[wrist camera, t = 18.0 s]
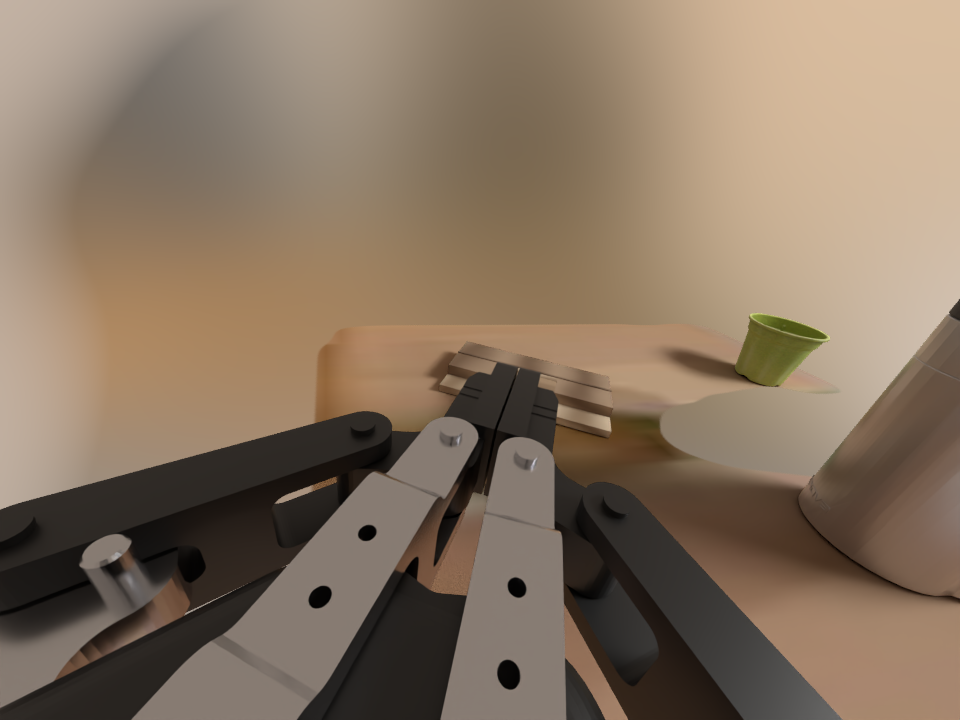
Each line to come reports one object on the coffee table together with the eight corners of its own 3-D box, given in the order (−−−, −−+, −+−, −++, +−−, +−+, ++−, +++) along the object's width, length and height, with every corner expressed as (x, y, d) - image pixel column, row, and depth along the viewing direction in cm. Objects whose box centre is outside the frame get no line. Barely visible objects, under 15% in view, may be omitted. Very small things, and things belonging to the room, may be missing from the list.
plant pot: (804, 402, 48) (844, 346, 44) (728, 380, 51) (759, 325, 47) (781, 374, 56) (813, 324, 52) (717, 356, 59) (742, 308, 55)
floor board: (603, 390, 42) (609, 376, 42) (608, 438, 34) (615, 421, 33) (465, 354, 46) (467, 340, 45) (438, 390, 37) (440, 374, 36)
